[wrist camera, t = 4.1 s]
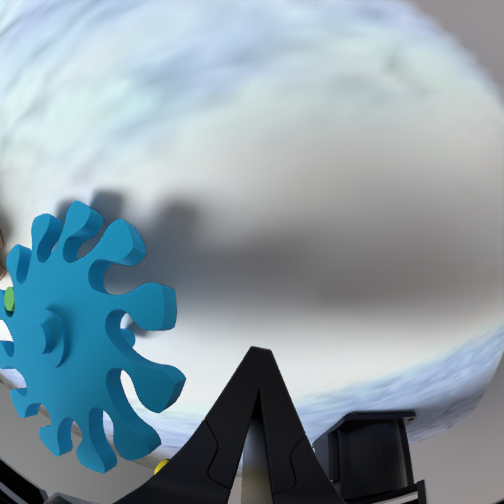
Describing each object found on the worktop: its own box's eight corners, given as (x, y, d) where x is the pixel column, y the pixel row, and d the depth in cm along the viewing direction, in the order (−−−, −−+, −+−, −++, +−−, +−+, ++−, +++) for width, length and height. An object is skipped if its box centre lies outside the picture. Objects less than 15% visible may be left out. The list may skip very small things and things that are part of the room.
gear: (204, 204, 7) (150, 525, 4) (243, 259, 12) (203, 458, 10) (4, 191, 9) (-25, 384, 6) (73, 229, 14) (46, 380, 12)
